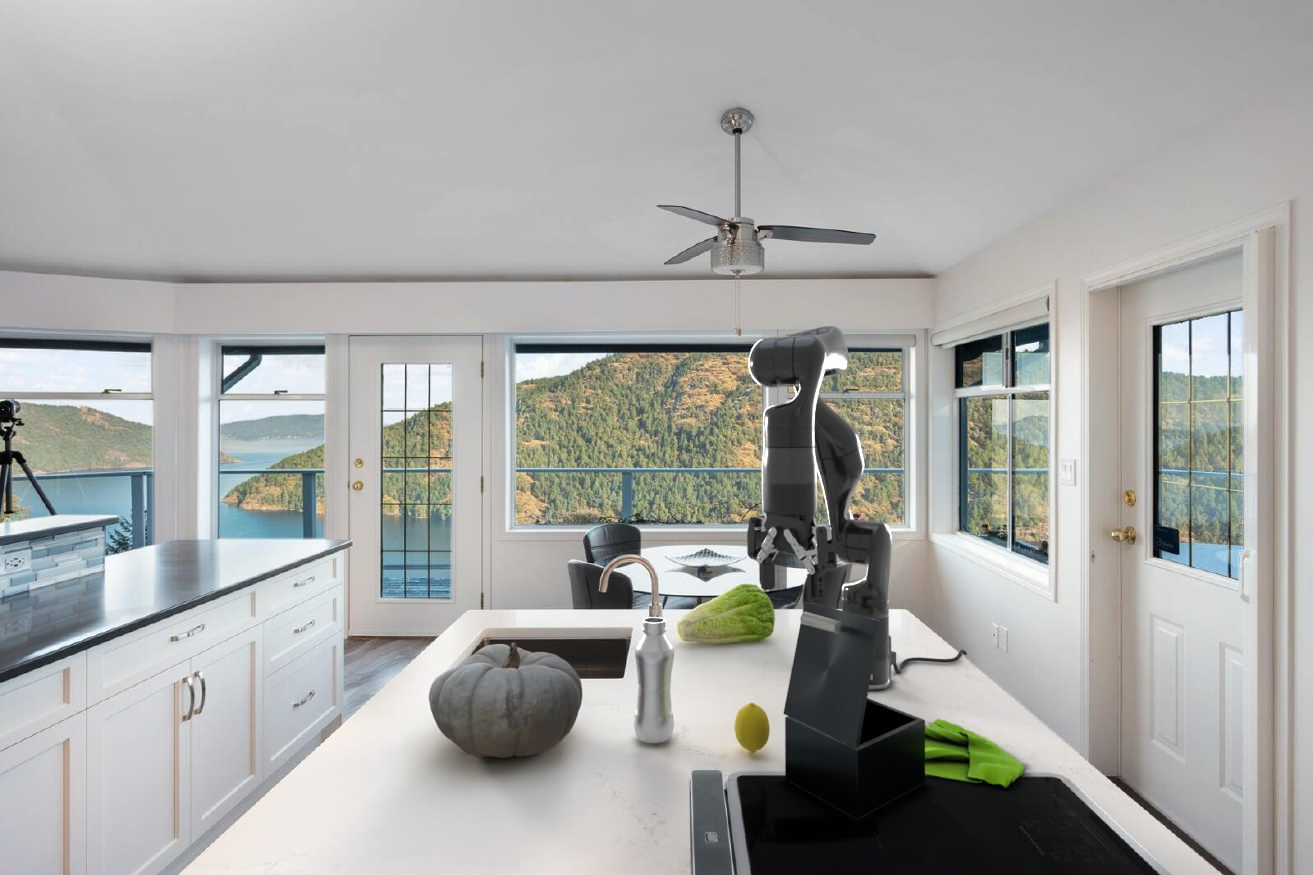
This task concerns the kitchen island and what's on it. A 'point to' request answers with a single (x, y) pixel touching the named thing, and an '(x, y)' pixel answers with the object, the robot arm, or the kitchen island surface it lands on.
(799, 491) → the robot arm
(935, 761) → the cloth
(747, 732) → the lemon
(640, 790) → the kitchen island surface
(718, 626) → the lettuce
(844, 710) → the caddy lid
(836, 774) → the box
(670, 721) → the silver bottle
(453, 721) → the gourd
